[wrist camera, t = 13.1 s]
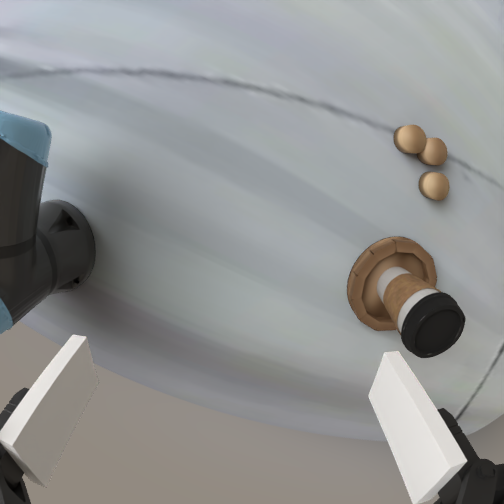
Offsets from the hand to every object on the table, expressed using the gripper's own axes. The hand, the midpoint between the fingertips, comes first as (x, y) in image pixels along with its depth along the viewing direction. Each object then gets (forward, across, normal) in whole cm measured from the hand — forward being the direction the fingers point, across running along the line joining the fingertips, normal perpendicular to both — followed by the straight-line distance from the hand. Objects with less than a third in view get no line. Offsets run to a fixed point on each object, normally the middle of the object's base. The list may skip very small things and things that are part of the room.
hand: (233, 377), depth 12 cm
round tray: (+30, +24, -8) cm, 39 cm away
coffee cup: (+30, +24, -8) cm, 39 cm away
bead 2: (+30, +27, +13) cm, 42 cm away
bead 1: (+30, +23, +14) cm, 40 cm away
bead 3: (+30, +28, +8) cm, 42 cm away
